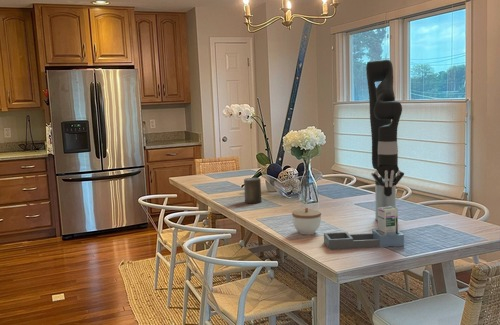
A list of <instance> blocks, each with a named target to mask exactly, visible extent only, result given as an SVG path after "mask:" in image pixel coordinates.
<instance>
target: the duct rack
mask: <svg viewBox="0 0 500 325" xmlns="http://www.w3.org/2000/svg"><path fill="white" fill-rule="evenodd" d="M371 230H372V232H367V233H364V232H362V233H349V232H348V231H341V232H340V231H338V232H323V243H324V245H325V246H326V247H327V249H328V251H331V250H333V251H334V250H335V251H336V250H352V249H354V250H355V249H356V250H357V249H372V248H373V247H375V248H389V247H388V246H394V247H404V246H405V234H404V233H402V232H401V231H400V230H398V234H396V233H387V235H381V234H379V233H378V228H376V229H375V228H373V229H371Z"/></svg>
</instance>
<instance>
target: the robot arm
mask: <svg viewBox="0 0 500 325" xmlns="http://www.w3.org/2000/svg"><path fill="white" fill-rule="evenodd" d="M365 68H366V69H365V72H366V79H367V89H368V102H369V120H370V133H371V164H372V168H373V169H374V170H375V171H374V172H372V173H371V176H372V178H373V179H374V180H375V187H374V188H375V189H374V190H375V191H374V192H375V211H374V212H375V214H374V215H375V217H374V218H375V221H377V222H378V207H389V206H392V207H395V208H396V207H397V206H396V205H397V204H396V203H397V202H396V201H397V200H396V199H397V193H396V192H397V191H396V186H397V185H398V183H399V182H400V181H401V180H402V178H403V177H404V175H405V172H403V171H401V170H400V168H399V166H398V164H399V163H398V162H399V159H398V158H399V157H398V156H399V154H398V153H399V146H398V129H399V127H398V126H399V124H400V123H399V122H400V118H401V116H402V113H403V107H402V106H403V105H402V104H401V102H399V101H398V100H396V96H395V91H394V68H393V63H392V61H391V60H390V59H385V58H384V59H378V60H377V59H376V60H370V61H367V63H366V67H365ZM376 82H378V83H379V82H380V83H379V84H378V85H377V86H376Z"/></svg>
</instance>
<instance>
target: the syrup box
mask: <svg viewBox="0 0 500 325" xmlns="http://www.w3.org/2000/svg"><path fill="white" fill-rule="evenodd" d="M398 211H399V209H398V208H395V207H392V206H389V207H378V221H377V229H378V233H379V234H381V235H387V233H396V234H398V231H399V230H398V229H399V227H398V226H399V224H398V222H399V218H398V217H399V216H398V214H399V212H398Z"/></svg>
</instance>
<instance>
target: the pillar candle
mask: <svg viewBox="0 0 500 325" xmlns="http://www.w3.org/2000/svg"><path fill="white" fill-rule="evenodd" d="M243 184H244V186H243V187H244V190H243V191H244V203H245V202H246V204H260V203H262V186H261V184H262V183H261V178H260V177H248V178H244V179H243Z"/></svg>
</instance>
